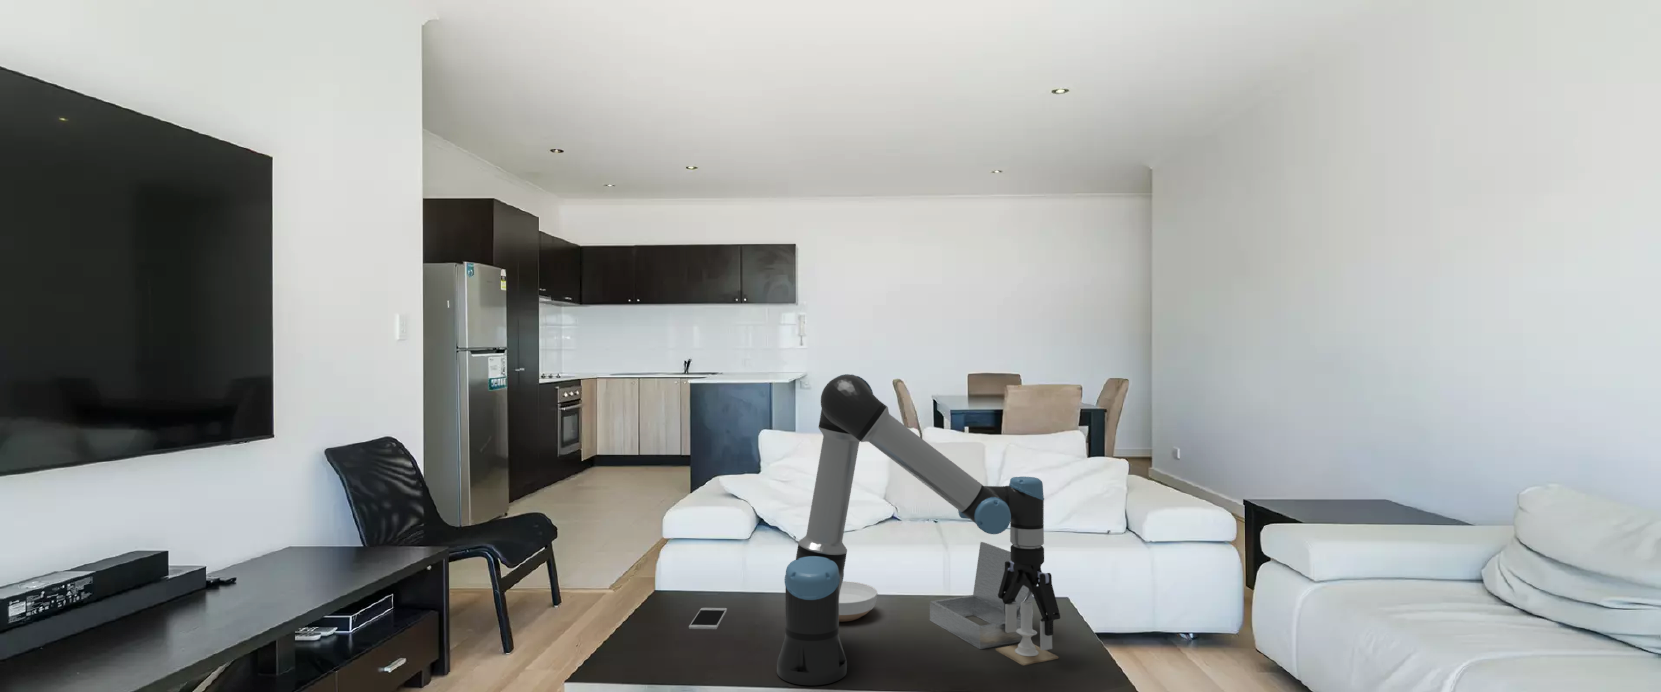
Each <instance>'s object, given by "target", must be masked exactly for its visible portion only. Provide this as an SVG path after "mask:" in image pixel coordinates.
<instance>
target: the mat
mask: <svg viewBox="0 0 1661 692" xmlns="http://www.w3.org/2000/svg"><path fill="white" fill-rule="evenodd" d="M1018 644H1019V643H1018ZM1018 644H1017V643H1016V644H1014V645H1013V644H1012V645H1009V646H1008V645H1007V646H1002V647H997V648H995V651H996V652H997V653H1000V654H1001V655H1003V656H1005V657H1007V658H1008V659H1011V660H1012V661H1014V662H1016V663H1018V664H1019V665H1021V666H1028V665H1032V664H1037V663H1042V662H1047V661H1053V660H1058V659H1059V656H1058V655H1056V654H1054V653H1052V652H1050V651H1048V650H1040V646H1038V645H1036V644H1034V643H1033V645H1035V648H1036V650H1037V651H1038V652H1039V654H1038V655H1036V656H1032V657H1027V656H1021V655H1018V654H1017V653H1015V649H1016V648H1018Z"/></svg>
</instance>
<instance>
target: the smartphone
mask: <svg viewBox="0 0 1661 692" xmlns="http://www.w3.org/2000/svg"><path fill="white" fill-rule="evenodd" d="M727 611H728V607H727V608H726V607H701V608H700V609H699V611H698V612H697V613H696V615H695V617H694V618H693V619H692V621H691V623H690V624H689V625H688V629H689V630H717V629H718V627H719V626H720V624H721V622H722V620H723V619H724V618H725V617H724V616H725V615H726V613H727Z"/></svg>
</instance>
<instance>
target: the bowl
mask: <svg viewBox="0 0 1661 692" xmlns="http://www.w3.org/2000/svg"><path fill="white" fill-rule="evenodd" d="M877 599H878V590H877V589H876V588H875V587H873V586H871V585H869V584H865V583H861V582H855V581H847V580H846V581H844V580H843V582H842V585H841V589H840V595H839V623H840V622H852V621H856V620H859V619H860V618H861V617H863V616H866V615H867V614H868V613H869V612H871V610H873V609H874V607H875V606H876V603H877Z"/></svg>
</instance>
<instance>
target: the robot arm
mask: <svg viewBox="0 0 1661 692" xmlns="http://www.w3.org/2000/svg"><path fill="white" fill-rule="evenodd" d="M820 406H821V407H820V408H821V410H820V416H819V423H818V430H819V431H820V432H821V434H822V436H823V437H822V443H821V448H820V454H819V460H818V466H817V471H816V478H815V483H814V490H813V494H812V501H811V506H810V512H809V517H808V524H807V529H806V535H805V536H804V537H802V538H801V539H800V540H798V545H797V549H796V555H795V559H794V560H792V561H791V562H789V564H788V565H787V567H786V569H785V576H784V585H785V586H784V587H785V603H784V605H785V607H784V608H785V609H784V611H785V612H784V613H785V616H784V617H785V623H784V624H785V625H784V626H785V627H784V628H785V631H784V633H785V634H784V639H783V642H782V645H781V649H780V652H779V655H778V657H777V661H776V673H777V675H778V676H777V677H779V678H780V679H781V680H783V681H785V682H788V683H790V684H795V685H799V686H800V685H801V686H823V685H828V684H832V683H836V682H838V681H840V680H842V679H844V677H846V675H847V671H848V669H847V668H848V663H847V658H846V654H845V651H844V649H843V645H842V641H841V638H840V629H839V627H840V622H839V595H840V589H841V585H842V582H843V581H844V575H845V564H846V561H847V560H846V559H847V553H848V549H847V547H846V546H845V545H844V543H843V538H844V534H845V527H846V520H847V516H848V510H849V504H850V498H851V492H852V487H853V481H854V475H855V469H856V463H857V457H858V451H859V446H860V442H861V443H866V442H867V443H870V444H871V445H872V446H874V448H876V449H877V450H879V451H881V452H882V454H884V455H885V456H887V457H888V458H890V460H892V461H893V462H895V463H896V464H897V465H898V466H900V467H901V468H903V470H905V471H906V472H908V473H909V474H911V476H913V477H915V479H917V480H919V481H920V482H921V483H922V484H923V485H925V487H928V488H929V489H930V490H931V491H933V492H934V493H936V494H937V495H938V496H940V497H941V498H942V499H943V500H945V501H946V502H947V503H948V504H950V505H951V506H953V507H954V508H955V509H956V510H958V511H957V513H958V515H959V517H960V518H961V519H966V520H967V519H969V520H971V521H972V522H973V523H975V525H976V526H977V528H979V529H980V530H981V531H982V532H983V533H986V534H988V535H989V534H990V535H998V534H1001V533H1003V532H1004V531H1006V530H1007V529H1008V528H1010V530H1009V533H1010V534H1009V535H1010V536H1009V540H1010V541H1009V542H1010V543H1011V545H1010V552H1011V561H1006V562H1005V571H1004V575H1003V578H1002V582H1001V586H1000V589H999V593H998V597H999V599H1002V600H1003V603H1004V609H1005V610H1004V611H1005V612H1004V614H1005V632H1006V633H1011V632H1016V630H1017V612H1016V603H1012V602H1016V601H1015V598H1016V597H1017V595H1018V593H1019V591H1020V589H1021V588H1022V586H1023V585H1024V586H1025V587H1027V588H1029V591H1030V592H1032V594H1033V599H1034V601H1035V603H1036V605H1037V608H1038V610H1039V613H1040V615H1041V619H1039V643H1040V644H1039V645H1040V646H1039V647H1040V650H1046V651H1048V650H1053V635H1054V621H1055V620H1056V621H1058V620H1060V619H1061V613H1060V610H1059V606H1058V602H1057V598H1056V595H1055V591H1054V587H1053V582H1052V580H1053V579H1052V578H1053V577H1052V574H1051V573H1050V572H1047V573H1046V572H1042V568H1041V567H1042V565H1043V563H1045V547H1044V546H1043V545H1044V544H1045V539H1044V538H1045V537H1044V536H1045V535H1044V533H1045V529H1044V523H1045V521H1044V520H1045V519H1044V517H1045V515H1044V514H1045V513H1044V512H1045V510H1044V507H1045V505H1044V503H1045V496H1044V485H1043V481H1042V480H1041V479H1040V478H1037V477H1036V476H1035V477H1034V476H1012V477H1011V478H1010V480H1009V484H1008V485H1005V486H1004V485H1003V486H1001V485H1000V486H999V485H995V486H994V485H993V486H992V485H983V484H982V483H980V481H978V480H977V479H975V478H974V477H973V476H972V475H970V474H969V473H968V472H966V471H965V470H964V469H962V468H961V467H960V466H958V465H957V464H956V463H954V462H953V461H952V460H951V459H949V458H948V457H946V456H945V455H944V454H942V453H941V452H940V451H939V450H937V449H936V448H935V447H933V445H930V444H929V443H928V442H927V441H926V440H924V439H923V438H922V437H920V435H918V434H916V433H915V432H913V431H912V430H911V429H909V427H907V426H906V425H904V424H903V423H902V422H901V421H899V420H898V419H896V418H895V417H894V416H893V415H891V414H890V412H889V407H888V406H887V405H886V404H885V403H884V402H882V401H881V400H879V398H877V397H876V396H875V394H874V393H873V389H872V388H871V385H870V384H869V382H868V381H866V380H865V379H864V378H862V377H861V376H858V375H854V374H848V373H847V374H841V375H838V376H836V377H834V378H832V379H831V380H830V381H829V382H828V383H827V384H826V385H825V386H824V388H823V390H822V392H821V395H820ZM1004 592H1005V593H1004Z"/></svg>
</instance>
